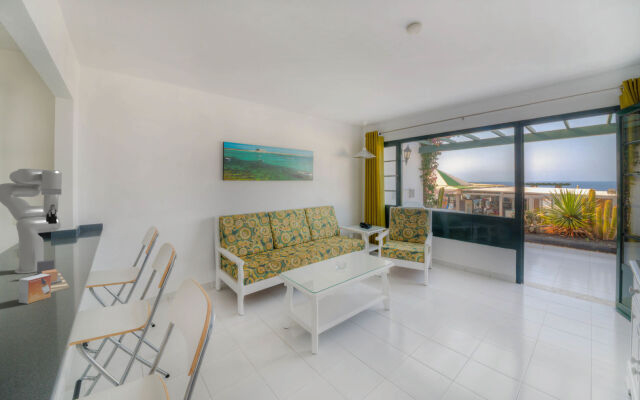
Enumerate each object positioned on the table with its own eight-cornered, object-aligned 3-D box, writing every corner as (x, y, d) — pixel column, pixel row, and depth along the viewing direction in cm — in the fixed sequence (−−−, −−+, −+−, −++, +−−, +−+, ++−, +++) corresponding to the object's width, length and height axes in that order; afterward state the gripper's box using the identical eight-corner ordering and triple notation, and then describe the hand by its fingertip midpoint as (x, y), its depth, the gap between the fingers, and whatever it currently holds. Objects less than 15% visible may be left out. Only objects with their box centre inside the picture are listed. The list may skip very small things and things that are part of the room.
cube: (41, 280, 126) (41, 271, 126) (55, 278, 130) (55, 269, 130) (42, 283, 123) (42, 273, 123) (57, 280, 127) (57, 271, 127)
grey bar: (34, 275, 134) (34, 261, 134) (55, 272, 140) (55, 259, 140) (38, 286, 121) (38, 271, 120) (61, 282, 127) (62, 267, 127)
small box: (27, 304, 105) (27, 280, 105) (18, 302, 106) (18, 278, 106) (51, 296, 113) (51, 274, 113) (42, 295, 114) (42, 273, 114)
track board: (29, 278, 134) (29, 276, 134) (59, 273, 142) (59, 271, 142) (35, 295, 114) (35, 293, 114) (69, 288, 123) (69, 286, 123)
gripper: (39, 191, 139) (39, 221, 139) (43, 192, 128) (43, 225, 129) (59, 192, 145) (58, 220, 145) (63, 193, 134) (63, 224, 135)
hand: (51, 222), depth 137 cm, fingers open, 9 cm apart
